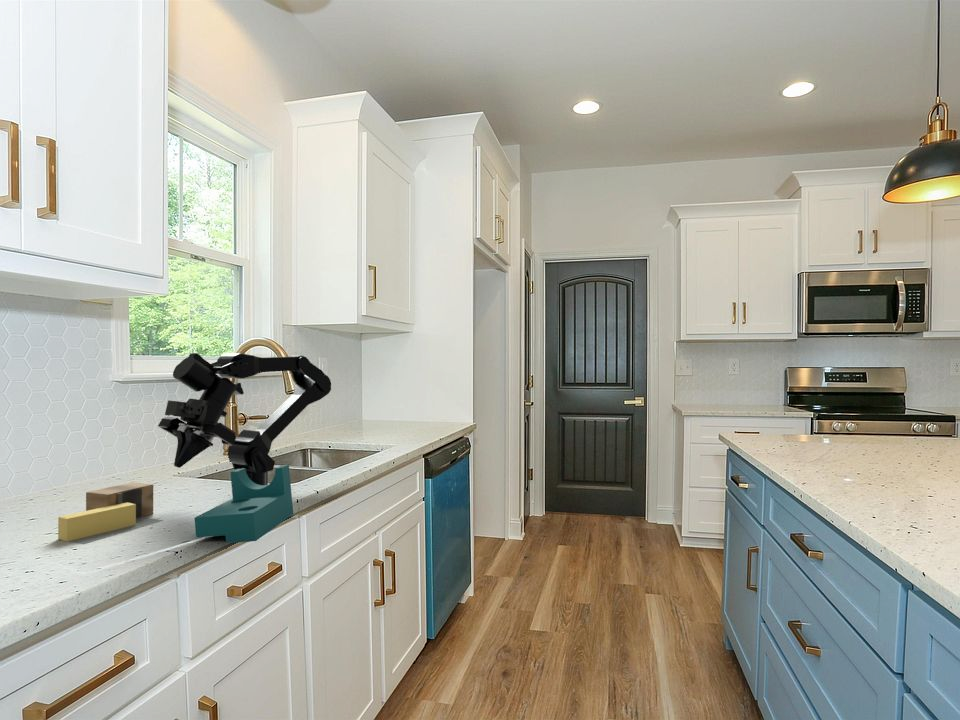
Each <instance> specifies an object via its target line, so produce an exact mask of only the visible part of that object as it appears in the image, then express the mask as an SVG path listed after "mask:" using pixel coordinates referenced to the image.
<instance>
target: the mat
mask: <svg viewBox="0 0 960 720" xmlns="http://www.w3.org/2000/svg"><path fill="white" fill-rule="evenodd" d="M163 521H164V519H157V518H150V517H145V516H143V517H139V518H136V525H132V526H128V527H124V528H120V529H116V530H112V531H108V532H104V533H100V534H95V535H91V536H87V537H83V538H79V539H75V540H71V541H66V542H68V543H74V544H81V545H87V544H89V543H92V542H96V541H99V540H103V539H106V538H109V537H112V536H116V535H119V534H123V533H126V532H130V531H132V530H137V529H140V528H143V527H146V526H150V525H153V524H156V523H161V522H163ZM60 541H62V542H65V541H64V540H60Z"/></svg>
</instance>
